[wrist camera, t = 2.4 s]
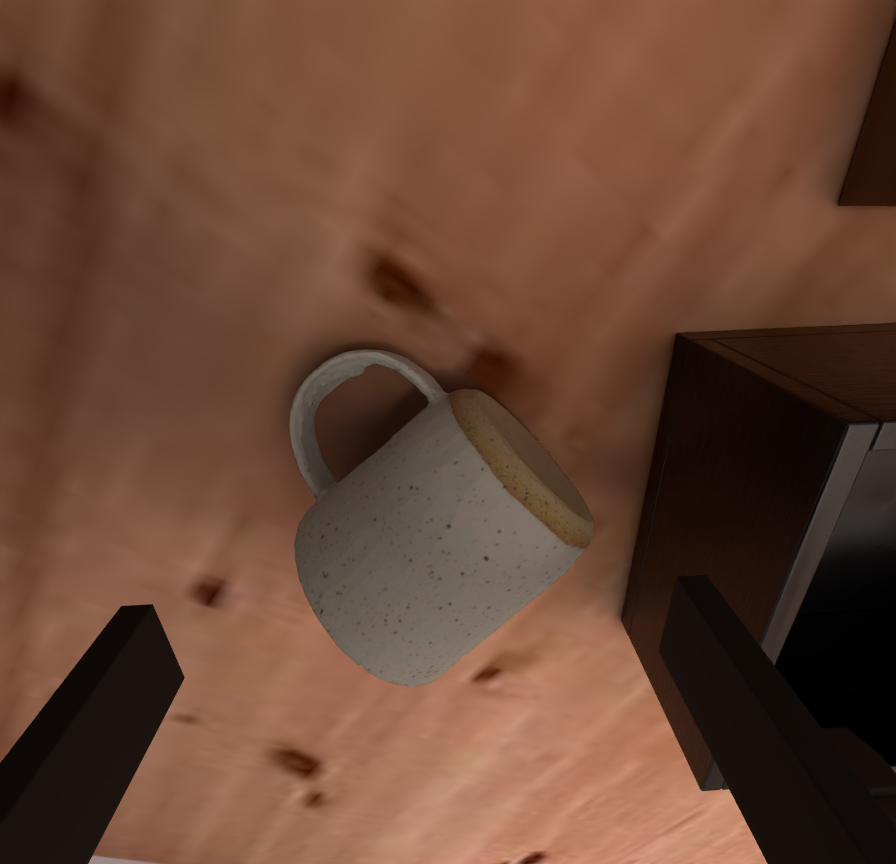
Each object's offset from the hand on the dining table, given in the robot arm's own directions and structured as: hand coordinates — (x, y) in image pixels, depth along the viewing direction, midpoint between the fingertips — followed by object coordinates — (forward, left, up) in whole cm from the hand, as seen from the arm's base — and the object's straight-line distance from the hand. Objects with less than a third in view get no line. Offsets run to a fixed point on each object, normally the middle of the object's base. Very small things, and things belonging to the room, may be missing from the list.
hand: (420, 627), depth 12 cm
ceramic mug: (0, 0, -9) cm, 9 cm away
